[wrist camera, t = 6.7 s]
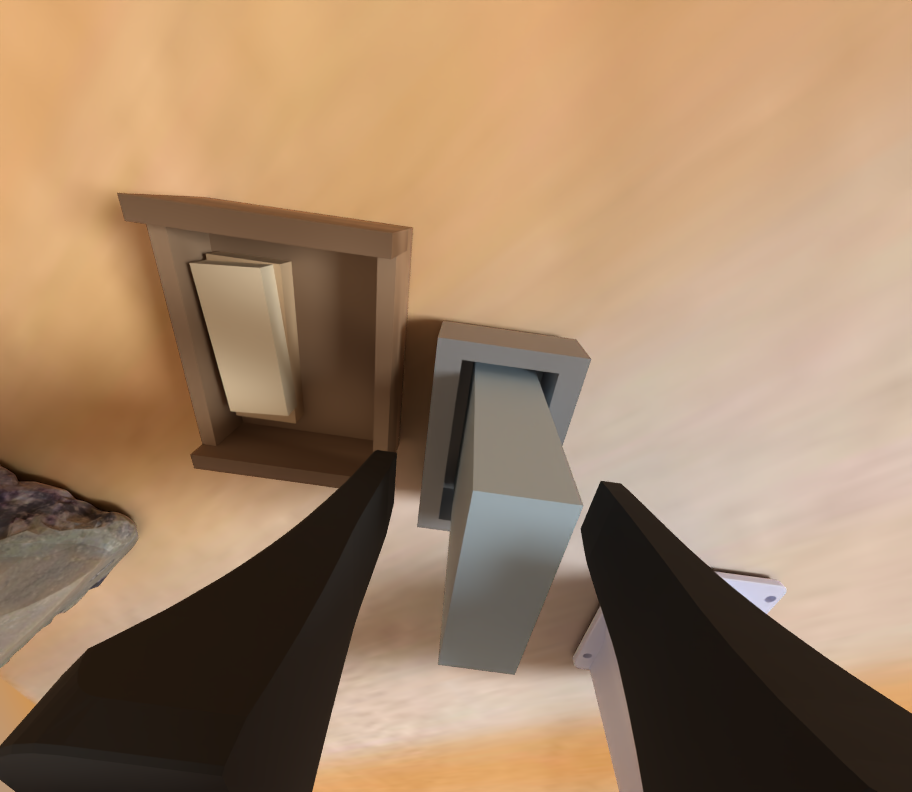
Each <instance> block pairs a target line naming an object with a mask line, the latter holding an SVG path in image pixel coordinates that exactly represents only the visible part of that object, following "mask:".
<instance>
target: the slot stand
mask: <svg viewBox="0 0 912 792" xmlns="http://www.w3.org/2000/svg"><path fill="white" fill-rule="evenodd" d="M590 361H591V358H590V357H589V356H588V354H587V353H586V352H585V350H584V349H583V348H582V346H581V345H580V344H579V342H578V341H577V340H576V339H569V338H562V337H555V336H548V335H541V334H534V333H527V332H520V331H513V330H506V329H499V328H492V327H485V326H478V325H471V324H464V323H457V322H450V321H443V323H442V326H441V329H440V332H439V335H438V341H437V350H436V359H435V368H434V378H433V387H432V396H431V405H430V414H429V423H428V432H427V442H426V451H425V460H424V469H423V478H422V487H421V497H420V506H419V515H418V524H417V527H421V528H429V529H436V530H443V531H450V525H451V513H452V502H453V491H454V480H455V474H456V468H457V462H458V456H459V450H460V444H461V438H462V432H463V426H464V420H465V414H466V407H467V401H468V395H469V389H470V383H471V377H472V371H473V365H474V362H481V363H488V364H495V365H502V366H509V367H516V368H523V369H530V370H535V371H536V374H537V377H538V380H539V382H540V385H541V388H542V391H543V394H544V396H545V399H546V402H547V405H548V408H549V410H550V413H551V416H552V419H553V422H554V425H555V427H556V430H557V433H558V436H559V439H560V441H561V444H562V445H563V442H564V439H565V436H566V433H567V430H568V427H569V424H570V421H571V418H572V415H573V412H574V409H575V406H576V403H577V400H578V397H579V394H580V391H581V388H582V385H583V382H584V379H585V376H586V373H587V370H588V367H589V364H590Z"/></svg>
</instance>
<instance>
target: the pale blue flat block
mask: <svg viewBox="0 0 912 792" xmlns="http://www.w3.org/2000/svg"><path fill="white" fill-rule="evenodd" d="M582 508H583V503H582V500H581V498H580V495H579V492H578V489H577V486H576V484H575V481H574V478H573V475H572V472H571V470H570V467H569V464H568V461H567V458H566V455H565V453H564V450H563V447H562V444H561V441H560V439H559V436H558V433H557V430H556V427H555V425H554V422H553V419H552V416H551V413H550V410H549V408H548V405H547V402H546V399H545V396H544V394H543V391H542V388H541V385H540V382H539V380H538V377H537V374H536V371H535V370H530V369H523V368H516V367H509V366H502V365H495V364H488V363H481V362H474V365H473V371H472V377H471V383H470V389H469V395H468V401H467V407H466V414H465V420H464V426H463V432H462V438H461V444H460V450H459V456H458V462H457V468H456V474H455V480H454V491H453V502H452V513H451V525H450V536H449V547H448V558H447V570H446V581H445V592H444V604H443V615H442V626H441V638H440V649H439V660H438V665H445V666H452V667H460V668H467V669H475V670H482V671H490V672H497V673H505V674H513V675H515V673H516V670H517V668H518V665H519V663H520V660H521V658H522V655H523V653H524V651H525V648H526V646H527V643H528V641H529V638H530V636H531V633H532V631H533V628H534V626H535V623H536V621H537V619H538V616H539V614H540V611H541V609H542V606H543V604H544V601H545V599H546V596H547V594H548V592H549V589H550V587H551V584H552V582H553V579H554V577H555V574H556V572H557V569H558V567H559V564H560V562H561V560H562V557H563V555H564V552H565V550H566V547H567V545H568V542H569V540H570V537H571V535H572V533H573V530H574V528H575V525H576V523H577V520H578V518H579V515H580V513H581V510H582Z"/></svg>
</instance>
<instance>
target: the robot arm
mask: <svg viewBox="0 0 912 792" xmlns="http://www.w3.org/2000/svg"><path fill="white" fill-rule="evenodd" d="M396 460H397V453H396V452H389V451H382V450H376V451H374V452H373V453H372V454H371V455H370V456H369V457H368V459H367V460H366V461H365V462H364V463H363V464H362V465H361V466H360V467H359V468H358V470H357V471H356V472H355V473H354V474H353V475H352V476H351V477H350V478H349V479H348V480H347V481H346V482H345V483H344V484H343V485H342V486H341V487H340V488H339V489H338V490H336V491H335V492H334V493H333V494H332V495H331V496H330V497H329V498H328V499H327V500H326V501H325V502H323V503H322V504H321V505H320V506H319V507H318V508H317V509H315V510H314V511H313V512H312V513H311V514H310V515H309V516H307V517H306V518H305V519H304V520H303V521H301V522H300V523H299V524H298V525H296V526H295V527H294V528H293V529H291V530H290V531H289V532H287V533H286V534H285V535H283V536H282V537H281V538H279V539H278V540H277V541H275V542H274V543H273V544H271V545H270V546H268V547H267V548H265V549H264V550H263V551H261V552H260V553H258V554H257V555H255V556H254V557H252V558H251V559H249V560H248V561H246V562H245V563H243V564H242V565H240V566H239V567H237V568H236V569H234V570H233V571H231V572H229V573H228V574H226V575H225V576H223V577H221V578H220V579H218V580H216V581H215V582H213V583H211V584H209V585H208V586H206V587H204V588H203V589H201V590H199V591H197V592H196V593H194V594H192V595H191V596H189V597H187V598H186V599H184V600H182V601H180V602H179V603H177V604H175V605H173V606H171V607H170V608H168V609H166V610H164V611H162V612H160V613H158V614H156V615H154V616H152V617H150V618H149V619H147V620H145V621H143V622H141V623H139V624H137V625H135V626H133V627H131V628H129V629H127V630H125V631H123V632H121V633H119V634H117V635H115V636H113V637H111V638H109V639H107V640H105V641H103V642H101V643H99V644H97V645H95V646H93V647H90V648H88V649H87V651H86V652H85V653H84V654H83V655H82V656H81V657H80V658H79V659H78V660H77V661H76V662H75V663H74V664H73V665H72V666H71V667H70V668H69V669H68V670H67V671H66V672H65V673H64V674H63V675H62V676H61V677H60V678H59V680H58V681H57V682H56V683H55V684H54V685H53V686H52V688H51V689H50V690H49V691H48V692H47V693H46V694H45V696H44V697H43V698H42V699H41V700H40V701H39V702H38V704H37V705H36V706H35V707H34V708H33V709H32V710H31V711H30V713H29V714H28V715H27V716H26V717H25V718H24V719H23V720H22V722H21V723H20V724H19V725H18V726H17V727H16V729H15V730H14V731H13V732H12V733H11V734H10V735H9V736H8V737H7V739H6V740H5V741H4V742H3V743H2V744H1V745H0V780H1V781H2V782H4V783H5V784H6V785H8V786H9V787H10V788H12V789H13V790H14V791H15V792H312V790H313V786H314V782H315V778H316V773H317V769H318V765H319V761H320V757H321V753H322V749H323V745H324V741H325V737H326V733H327V729H328V725H329V721H330V717H331V713H332V709H333V705H334V701H335V697H336V693H337V689H338V686H339V682H340V678H341V674H342V670H343V666H344V662H345V659H346V655H347V651H348V647H349V644H350V640H351V636H352V632H353V629H354V625H355V622H356V619H357V616H358V613H359V609H360V607H361V604H362V601H363V598H364V596H365V593H366V590H367V587H368V584H369V582H370V579H371V576H372V573H373V571H374V568H375V565H376V562H377V559H378V557H379V554H380V551H381V548H382V545H383V543H384V540H385V537H386V534H387V530H388V525H389V521H390V517H391V513H392V509H393V504H394V492H395V476H396ZM581 534H582V540H583V546H584V551H585V556H586V561H587V565H588V568H589V572H590V575H591V578H592V581H593V584H594V588H595V591H596V594H597V597H598V600H599V603H600V607H599V609H598V611H597V613H596V615H595V617H594V618H593V620H592V622H591V624H590V626H589V628H588V630H587V631H586V633H585V635H584V637H583V639H582V641H581V643H580V645H579V646H578V648H577V650H576V652H575V654H574V656H573V663H574V666H575V667H577V668H580V669H587V670H590V673H591V677H592V681H593V685H594V689H595V693H596V697H597V702H598V706H599V710H600V714H601V718H602V722H603V726H604V730H605V735H606V739H607V743H608V747H609V751H610V755H611V759H612V764H613V768H614V772H615V776H616V780H617V784H618V788H619V792H912V713H910V712H909V711H907V710H905V709H904V708H902V707H901V706H899V705H897V704H896V703H894V702H893V701H891V700H890V699H888V698H887V697H885V696H884V695H882V694H880V693H879V692H877V691H876V690H874V689H873V688H871V687H870V686H868V685H867V684H865V683H863V682H862V681H860V680H859V679H857V678H856V677H854V676H853V675H851V674H850V673H848V672H847V671H845V670H844V669H842V668H841V667H839V666H838V665H836V664H835V663H834V662H832V661H831V660H829V659H828V658H826V657H825V656H823V655H822V654H820V653H819V652H818V651H816V650H815V649H814V648H812V647H811V646H809V645H808V644H807V643H805V642H804V641H802V640H801V639H800V638H798V637H797V636H795V635H794V634H793V633H791V632H790V631H788V630H787V629H786V628H784V627H783V626H782V625H780V624H779V623H778V622H776V621H775V620H774V619H772V618H771V617H770V616H768V615H767V613H768V612H769V611H770V610H771V609H772V608H773V607H774V606H775V604H776V603H777V602H778V601H779V600H780V599H781V598H782V597H783V596H784V595H785V593H786V591H787V590H786V588H785V586H784V585H783V584H782V583H781V582H780V581H778V580H774V579H767V578H759V577H752V576H745V575H737V574H730V573H723V572H715V571H713V570H712V569H711V568H710V567H709V566H708V565H707V564H705V563H704V562H703V561H702V560H701V559H700V558H699V557H697V556H696V555H695V554H694V553H693V552H692V551H691V550H690V549H689V548H688V547H687V546H686V545H684V544H683V543H682V542H681V541H680V540H679V539H678V538H677V537H676V536H675V535H674V534H673V533H672V532H671V531H670V530H669V529H668V528H667V527H666V526H665V525H664V524H663V523H662V522H660V521H659V520H658V519H657V518H656V517H655V516H654V515H653V514H652V513H651V512H650V511H649V510H648V509H647V508H646V507H645V506H644V505H643V504H642V503H641V502H640V501H639V500H638V499H637V498H636V497H635V496H634V495H633V494H632V493H631V492H630V491H629V490H628V489H626V488H625V487H624V486H623V485H622V484H620V483H613V482H605V481H601V482H600V484H599V486H598V489H597V491H596V494H595V496H594V498H593V501H592V503H591V505H590V508H589V510H588V513H587V515H586V517H585V520H584V522H583V525H582V527H581Z"/></svg>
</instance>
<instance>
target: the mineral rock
mask: <svg viewBox="0 0 912 792" xmlns="http://www.w3.org/2000/svg"><path fill="white" fill-rule="evenodd" d="M137 540H138V532H137V527H136V524H135V522H133V521H132V520H131V519H130V518H128V517H127V516H125V515H123V514H121V513H118V512H104V511H101V510H99V509H97V508H96V507H94V506H93V505H91V504H89V503H87V502H85V501H80V500H76V499H75V498H74V497H73V496H72V495H71V494H70V493H69V492H68V491H67V490H64V489H61V488H57V487H54V486H50V485H46V484H42V483H38V482H28V481H24V482H19V481H18V479H17V478H16V476H15V474H13V473H12V472H10V471H9V470H7V469H5V468H4V467H2V466H0V668H1V667H3V666H4V665H5V664H6V663H7V662H8V661H9V660H10V658H11V657H12V656H13V655H14V654H15V653H16V652H17V651H18V650H20V649H21V648H22V647H23V646H24V645H25V644H26V643H27V642H28V641H29V640H30V639H31V638H32V637H33V636H34V635H35V634H36V633H37V632H39V631H40V630H41V629H42V628H43V627H45V626H47V625H48V624H50V623H51V621H52V619H53V618H54V617H55V616H56V615H57V614H59V613H65V612H66V611H68V610H69V609H70V608H72V607H73V606H74V605H75V604H76V603H77V602H78V601H79V600H80V599H81V598H82V597H83V596H84V595H85V594H86V593H87V591H88V590H90V589H92V588H95V587H98V586H99V585H100V584H101V583H102V582H103V580H104V579H105V578H106V576H107V575H108V574H109V572H110V571H111V570H112V569H113V568H114V567H115V565H116V564H117V563H118V562H119V561H120V560H121V559H122V558H123V557H124V556H125V555H126V554H127V553H128V552H129V551H130V550H131V549H132V548H133V546H134V545H135V543H136V542H137Z"/></svg>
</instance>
